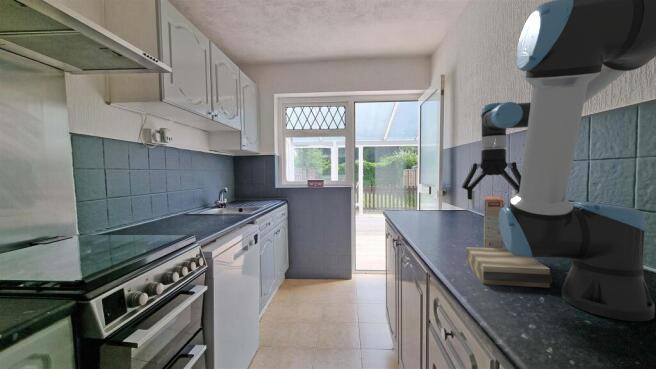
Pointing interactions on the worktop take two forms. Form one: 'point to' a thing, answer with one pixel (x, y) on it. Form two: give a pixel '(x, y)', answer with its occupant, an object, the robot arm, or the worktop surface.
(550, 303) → the worktop surface
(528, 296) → the worktop surface
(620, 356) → the worktop surface
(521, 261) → the dock
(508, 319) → the worktop surface
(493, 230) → the cracker box
